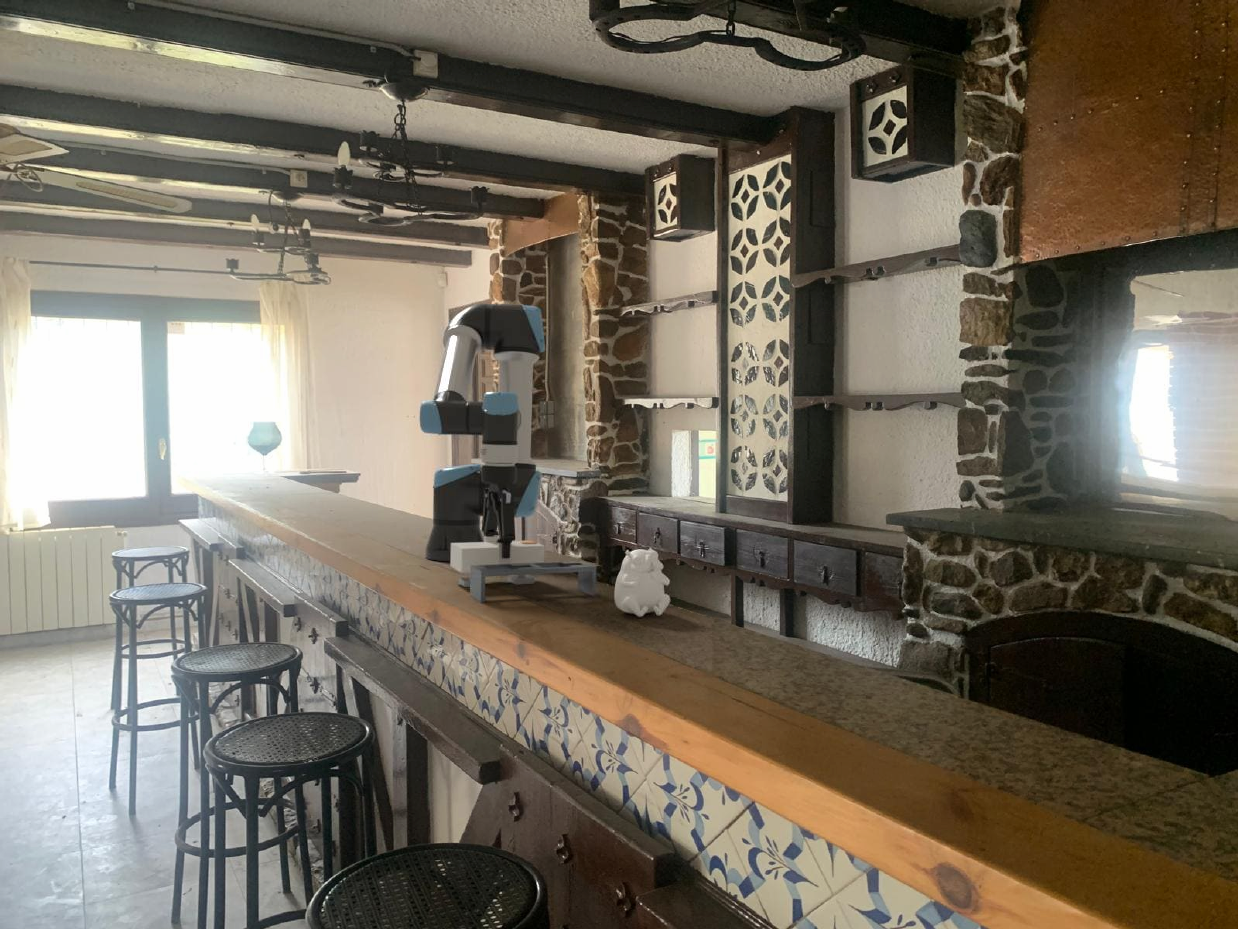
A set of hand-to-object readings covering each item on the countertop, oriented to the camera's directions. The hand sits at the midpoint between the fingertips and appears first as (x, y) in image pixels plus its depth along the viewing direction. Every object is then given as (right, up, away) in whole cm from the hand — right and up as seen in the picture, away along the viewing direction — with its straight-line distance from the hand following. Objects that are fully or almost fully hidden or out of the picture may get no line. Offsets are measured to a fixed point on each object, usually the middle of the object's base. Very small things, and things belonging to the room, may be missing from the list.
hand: (497, 569), depth 198 cm
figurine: (+30, -5, -27) cm, 40 cm away
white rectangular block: (0, -3, 0) cm, 3 cm away
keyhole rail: (+9, -4, -12) cm, 16 cm away
